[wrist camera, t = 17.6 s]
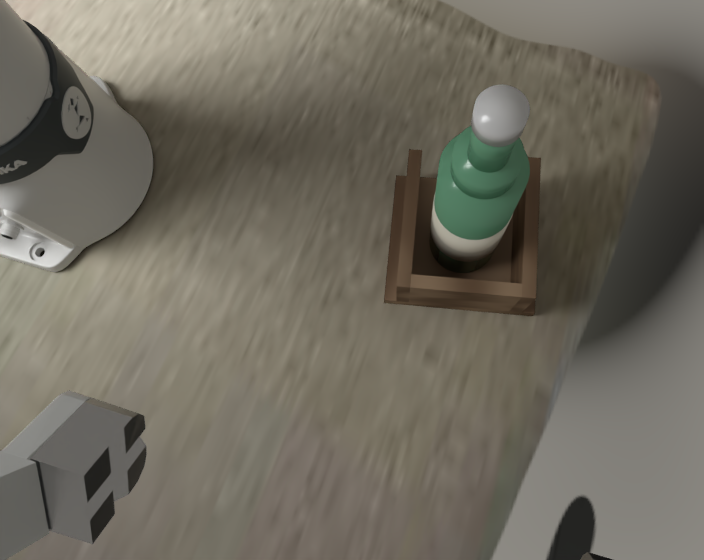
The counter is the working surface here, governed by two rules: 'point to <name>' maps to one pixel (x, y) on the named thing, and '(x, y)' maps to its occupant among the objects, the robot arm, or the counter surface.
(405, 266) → the bottle stand
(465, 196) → the green bottle
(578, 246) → the counter surface
